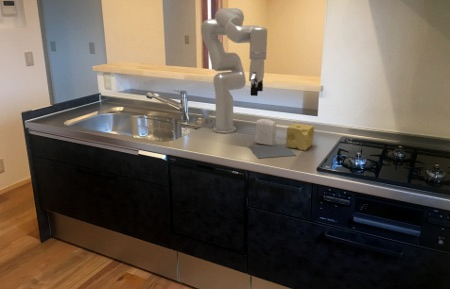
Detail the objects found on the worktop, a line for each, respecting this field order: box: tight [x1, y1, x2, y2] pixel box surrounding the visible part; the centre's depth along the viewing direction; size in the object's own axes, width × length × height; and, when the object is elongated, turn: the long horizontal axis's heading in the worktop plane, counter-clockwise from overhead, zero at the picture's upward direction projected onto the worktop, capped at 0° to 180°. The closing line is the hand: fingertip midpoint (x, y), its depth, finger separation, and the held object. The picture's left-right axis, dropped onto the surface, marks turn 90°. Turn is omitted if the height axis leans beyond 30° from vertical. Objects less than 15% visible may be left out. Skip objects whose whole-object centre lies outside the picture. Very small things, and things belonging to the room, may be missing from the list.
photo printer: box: [254, 118, 277, 146], centre depth 197 cm, size 10×4×12 cm, turn 56°
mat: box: [248, 143, 297, 160], centre depth 189 cm, size 16×18×1 cm
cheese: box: [285, 122, 315, 151], centre depth 194 cm, size 10×11×10 cm
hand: (256, 93), depth 186 cm, fingers open, 9 cm apart
